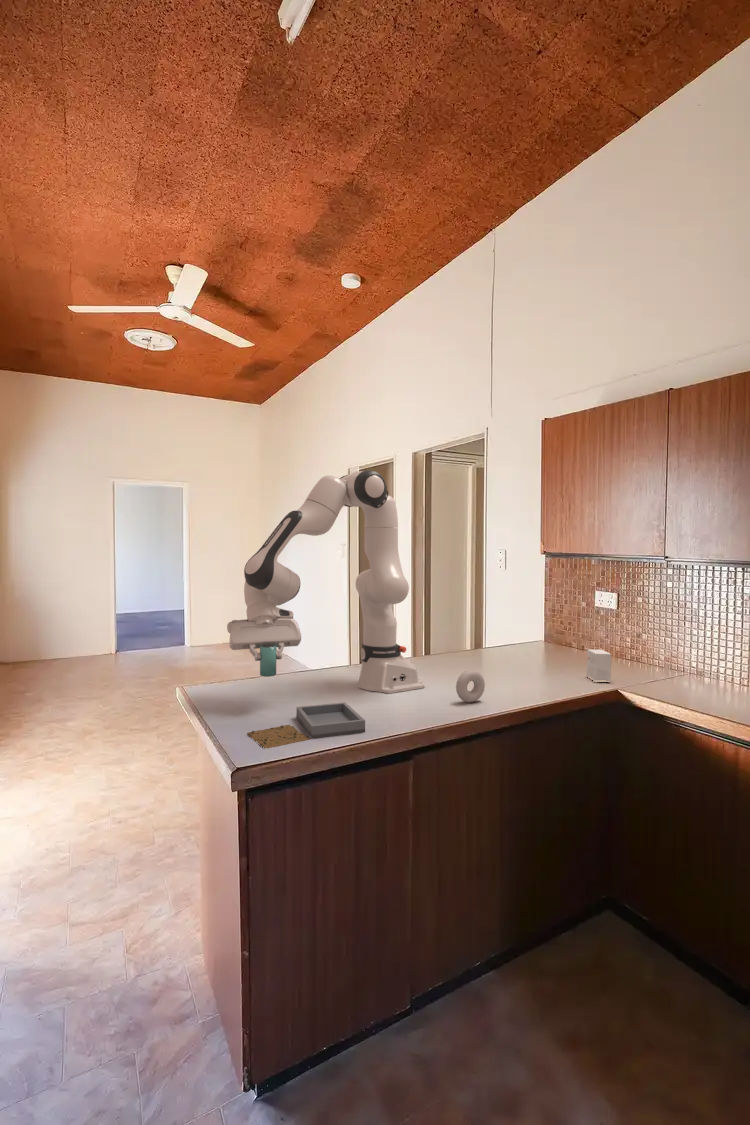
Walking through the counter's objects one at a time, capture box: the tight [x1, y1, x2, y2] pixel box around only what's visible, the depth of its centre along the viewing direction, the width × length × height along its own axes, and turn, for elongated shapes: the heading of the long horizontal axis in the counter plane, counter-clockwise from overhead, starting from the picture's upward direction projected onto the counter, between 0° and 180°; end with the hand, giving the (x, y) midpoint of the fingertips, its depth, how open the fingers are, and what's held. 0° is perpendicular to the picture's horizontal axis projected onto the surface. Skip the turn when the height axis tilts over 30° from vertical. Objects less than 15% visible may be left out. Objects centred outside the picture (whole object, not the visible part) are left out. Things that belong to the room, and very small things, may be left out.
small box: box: [586, 648, 612, 682], centre depth 195 cm, size 8×6×10 cm
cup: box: [259, 645, 277, 678], centre depth 152 cm, size 4×4×8 cm
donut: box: [455, 669, 486, 703], centre depth 165 cm, size 10×4×10 cm, turn 116°
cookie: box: [246, 724, 310, 749], centre depth 134 cm, size 12×12×1 cm
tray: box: [295, 701, 366, 739], centre depth 143 cm, size 14×16×3 cm
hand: (268, 659), depth 152 cm, fingers closed on cup, 4 cm apart
